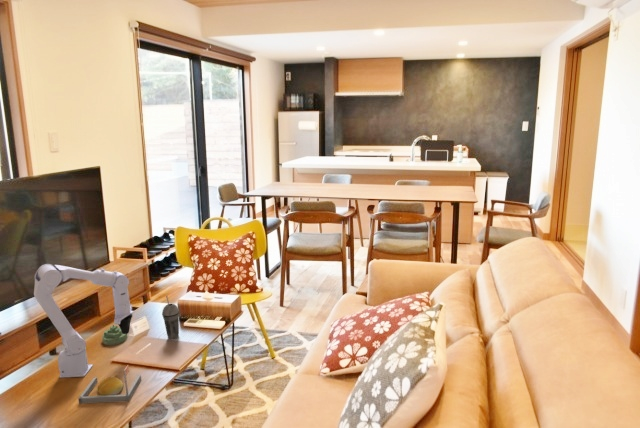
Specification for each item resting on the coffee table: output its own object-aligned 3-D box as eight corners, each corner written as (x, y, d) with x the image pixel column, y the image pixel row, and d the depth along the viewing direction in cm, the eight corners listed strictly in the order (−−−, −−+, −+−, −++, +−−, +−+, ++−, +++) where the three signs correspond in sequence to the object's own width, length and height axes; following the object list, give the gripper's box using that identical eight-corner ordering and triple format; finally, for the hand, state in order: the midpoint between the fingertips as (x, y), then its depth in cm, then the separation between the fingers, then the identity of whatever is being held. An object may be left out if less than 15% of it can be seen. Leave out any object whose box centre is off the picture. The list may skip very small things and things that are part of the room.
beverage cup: (185, 335, 210) (181, 293, 206) (172, 342, 204) (167, 299, 200) (174, 332, 214) (169, 290, 209) (161, 338, 208) (156, 296, 203)
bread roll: (102, 400, 165) (100, 390, 164) (96, 389, 172) (94, 379, 171) (127, 391, 170) (125, 381, 169) (119, 381, 177) (118, 371, 176)
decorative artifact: (132, 337, 210) (119, 332, 216) (130, 323, 208) (117, 318, 214) (111, 347, 202) (98, 341, 208) (109, 332, 200) (96, 326, 206)
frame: (79, 403, 163) (74, 373, 161) (94, 382, 176) (90, 353, 173) (129, 401, 164) (125, 370, 161) (141, 379, 177) (137, 351, 174)
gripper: (125, 309, 184) (129, 341, 187) (137, 294, 198) (141, 324, 201) (107, 309, 183) (111, 342, 186) (120, 295, 198) (124, 325, 201)
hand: (125, 333), depth 194 cm, fingers closed
